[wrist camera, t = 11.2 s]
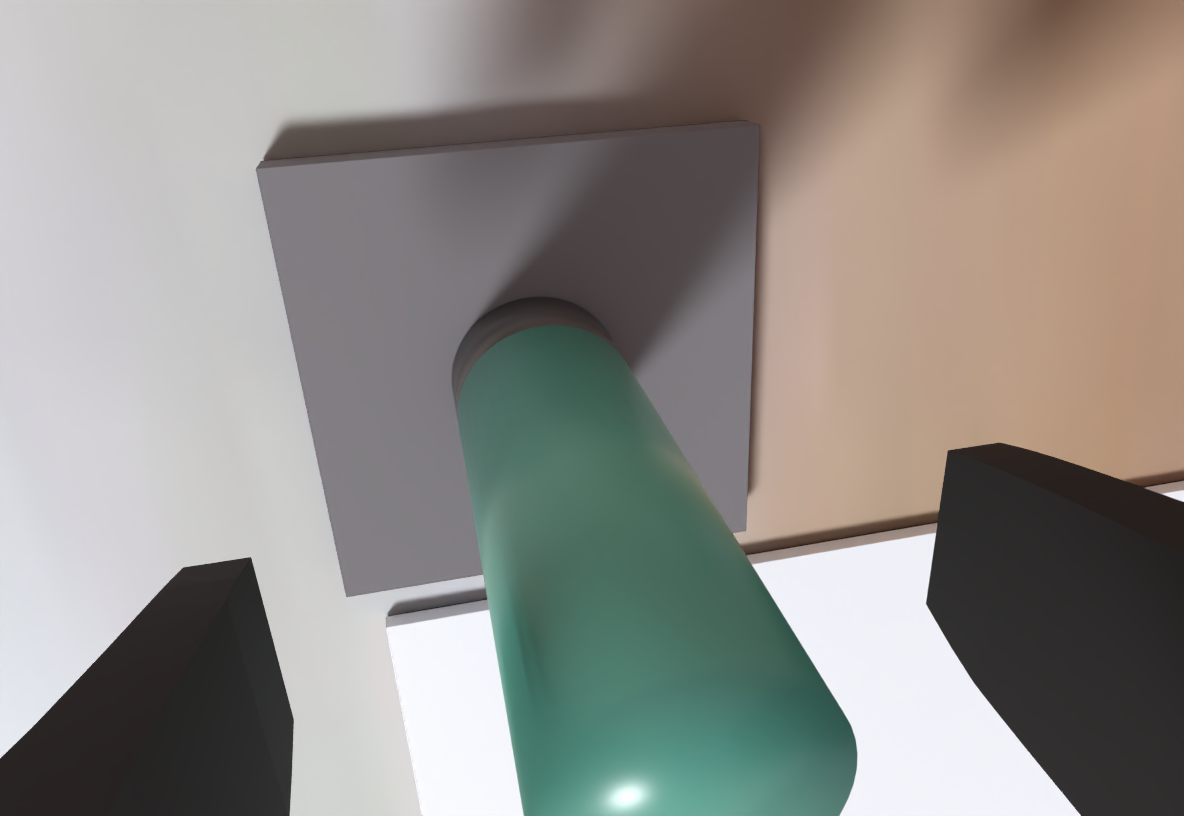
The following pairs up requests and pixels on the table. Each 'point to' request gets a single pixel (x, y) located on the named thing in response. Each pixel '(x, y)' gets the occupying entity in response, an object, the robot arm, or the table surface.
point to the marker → (626, 596)
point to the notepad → (835, 646)
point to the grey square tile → (492, 278)
